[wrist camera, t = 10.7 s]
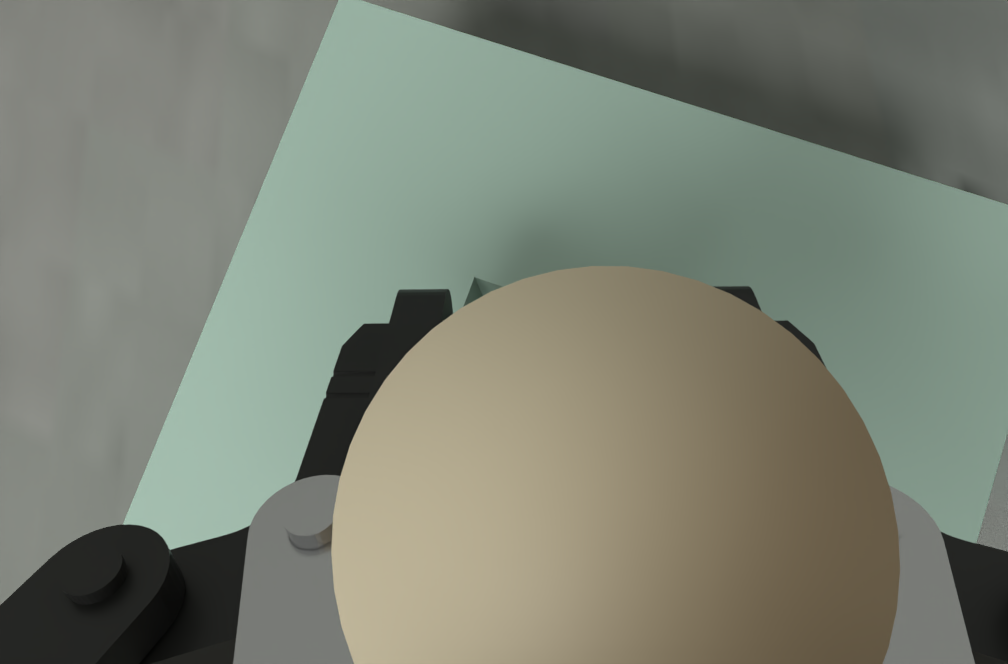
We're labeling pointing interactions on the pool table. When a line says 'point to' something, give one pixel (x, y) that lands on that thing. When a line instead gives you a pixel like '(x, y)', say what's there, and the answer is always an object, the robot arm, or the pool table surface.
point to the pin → (613, 488)
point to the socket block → (576, 256)
